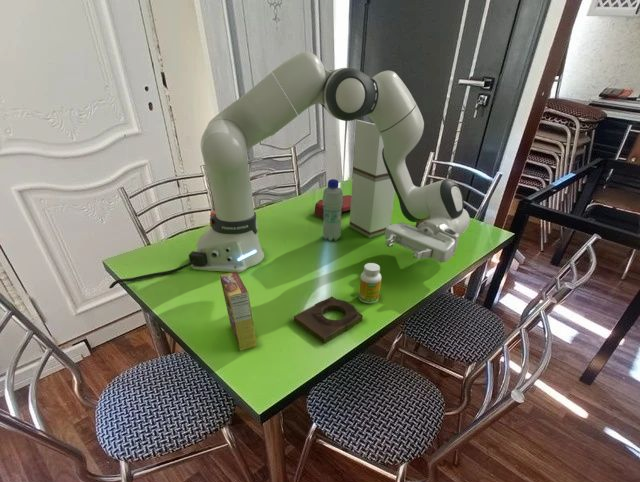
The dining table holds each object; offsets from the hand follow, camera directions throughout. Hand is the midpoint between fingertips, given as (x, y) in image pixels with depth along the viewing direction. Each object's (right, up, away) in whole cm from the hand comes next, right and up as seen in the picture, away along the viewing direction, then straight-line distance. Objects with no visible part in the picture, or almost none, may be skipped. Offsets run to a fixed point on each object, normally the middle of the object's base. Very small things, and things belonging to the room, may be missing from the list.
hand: (401, 249), depth 98 cm
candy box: (-40, -23, -13) cm, 48 cm away
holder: (-20, -19, -8) cm, 29 cm away
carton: (-13, +26, +50) cm, 57 cm away
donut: (+19, +12, +33) cm, 40 cm away
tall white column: (-3, +14, +35) cm, 38 cm away
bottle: (-18, +9, +29) cm, 35 cm away
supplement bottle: (-9, -13, 0) cm, 16 cm away
